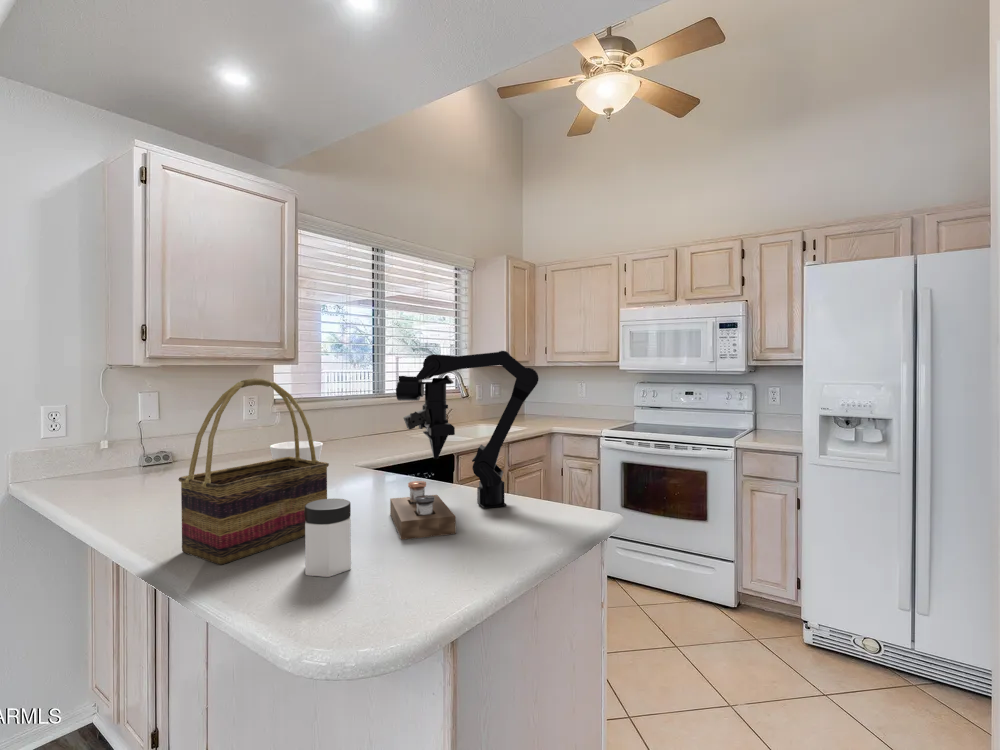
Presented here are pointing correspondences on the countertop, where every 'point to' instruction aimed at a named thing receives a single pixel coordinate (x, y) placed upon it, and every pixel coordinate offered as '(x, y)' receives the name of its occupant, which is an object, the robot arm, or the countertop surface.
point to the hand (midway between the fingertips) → (435, 458)
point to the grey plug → (424, 505)
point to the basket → (248, 495)
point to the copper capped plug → (416, 490)
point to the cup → (289, 450)
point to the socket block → (421, 519)
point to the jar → (327, 537)
